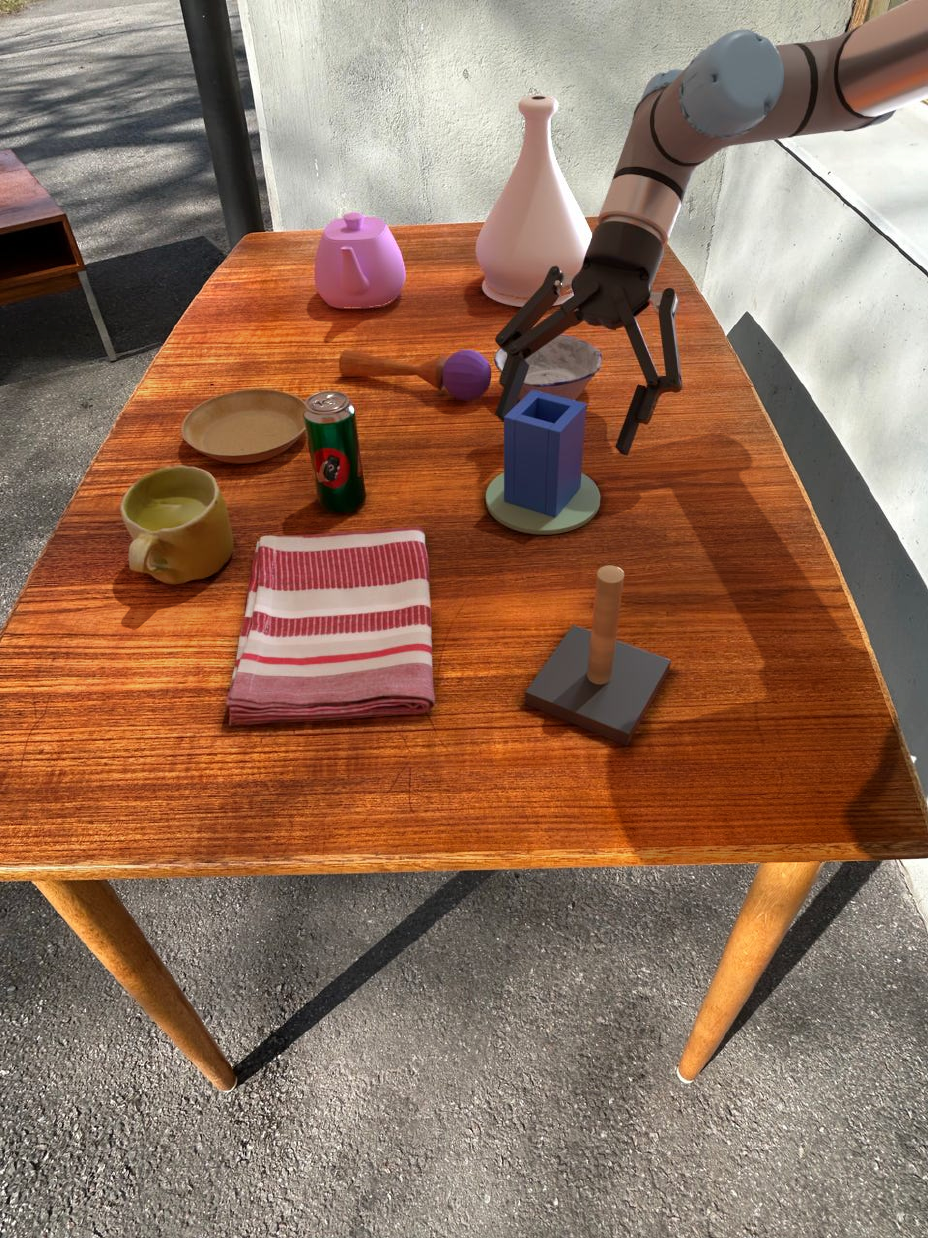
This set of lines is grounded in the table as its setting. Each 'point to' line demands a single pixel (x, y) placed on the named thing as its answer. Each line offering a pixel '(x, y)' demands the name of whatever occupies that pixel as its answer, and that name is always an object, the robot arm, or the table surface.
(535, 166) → the vase
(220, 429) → the plant saucer
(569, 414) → the sleeve
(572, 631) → the dowel stand
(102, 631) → the table surface
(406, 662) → the dish towel
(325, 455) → the soda can
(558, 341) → the bowl
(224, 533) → the mug
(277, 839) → the table surface
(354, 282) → the teapot
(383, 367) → the purple maraca
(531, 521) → the coaster
